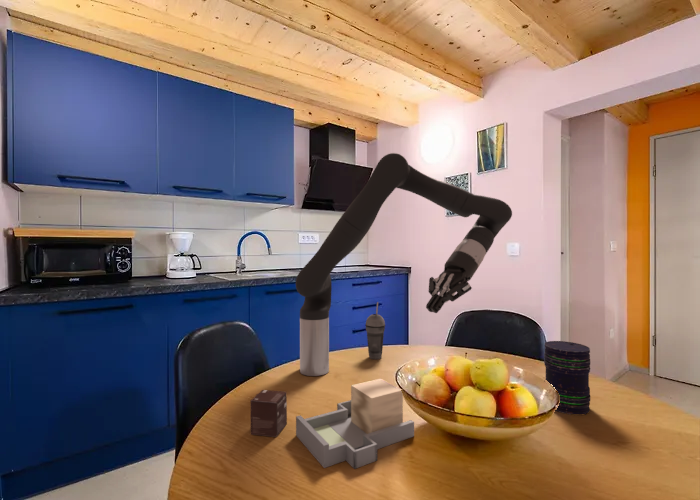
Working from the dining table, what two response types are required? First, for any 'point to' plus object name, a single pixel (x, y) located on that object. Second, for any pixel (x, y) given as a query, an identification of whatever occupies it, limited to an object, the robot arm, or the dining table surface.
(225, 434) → the dining table surface
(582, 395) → the black striped cylinder
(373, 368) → the dining table surface
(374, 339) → the beverage cup
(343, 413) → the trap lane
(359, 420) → the maple cube
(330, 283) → the robot arm
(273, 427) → the box
